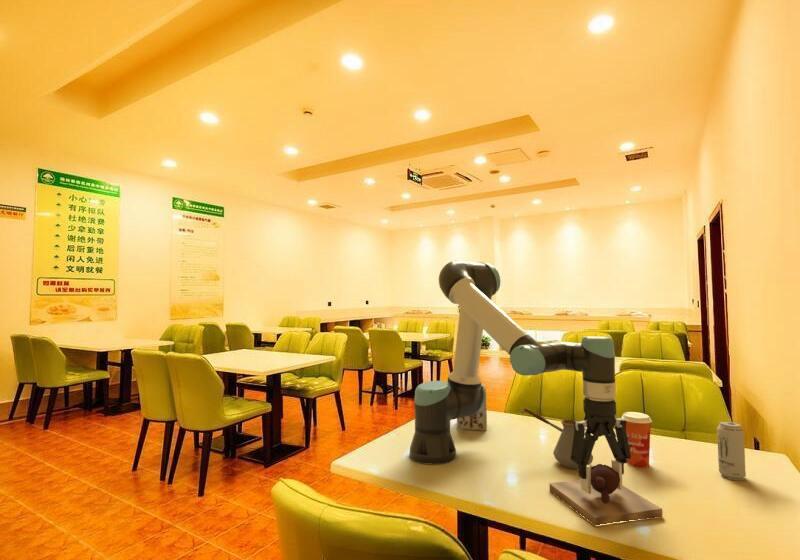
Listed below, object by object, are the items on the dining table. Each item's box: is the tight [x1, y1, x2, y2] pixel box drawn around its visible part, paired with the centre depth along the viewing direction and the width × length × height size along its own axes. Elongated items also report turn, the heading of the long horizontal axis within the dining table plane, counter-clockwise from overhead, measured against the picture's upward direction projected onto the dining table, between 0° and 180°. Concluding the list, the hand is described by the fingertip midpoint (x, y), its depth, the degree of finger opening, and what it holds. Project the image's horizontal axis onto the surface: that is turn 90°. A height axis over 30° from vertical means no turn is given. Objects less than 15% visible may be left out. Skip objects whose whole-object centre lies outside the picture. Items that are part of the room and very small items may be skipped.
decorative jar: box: [456, 385, 488, 432], centre depth 167 cm, size 12×12×18 cm
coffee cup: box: [620, 411, 653, 469], centre depth 128 cm, size 8×8×15 cm
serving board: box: [549, 479, 663, 526], centre depth 103 cm, size 18×18×2 cm
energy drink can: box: [716, 420, 747, 481], centre depth 119 cm, size 6×6×15 cm
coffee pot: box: [521, 408, 594, 470], centre depth 131 cm, size 21×12×15 cm, turn 54°
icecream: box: [590, 463, 620, 504], centre depth 103 cm, size 7×7×15 cm
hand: (601, 489), depth 103 cm, fingers closed on icecream, 8 cm apart
